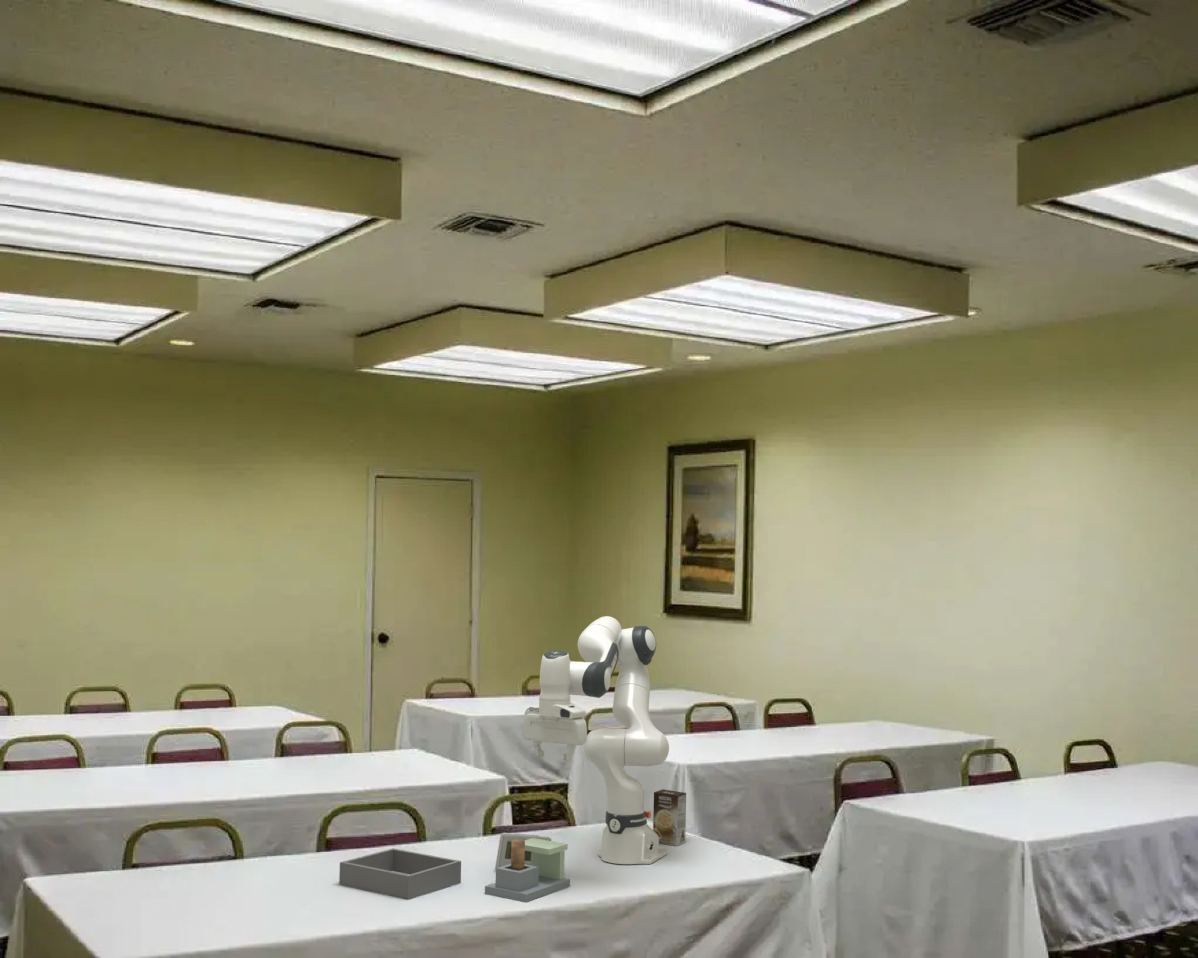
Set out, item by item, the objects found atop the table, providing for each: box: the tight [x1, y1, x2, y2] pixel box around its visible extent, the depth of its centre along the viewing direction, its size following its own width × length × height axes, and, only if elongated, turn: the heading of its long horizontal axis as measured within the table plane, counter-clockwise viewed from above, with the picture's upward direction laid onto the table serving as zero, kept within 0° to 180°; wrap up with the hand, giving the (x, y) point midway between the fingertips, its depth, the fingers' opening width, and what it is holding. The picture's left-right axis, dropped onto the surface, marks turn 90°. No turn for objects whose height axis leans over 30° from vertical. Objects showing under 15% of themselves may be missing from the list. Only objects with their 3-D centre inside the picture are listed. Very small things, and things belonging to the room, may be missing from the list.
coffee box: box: [652, 788, 687, 847], centre depth 412 cm, size 9×6×16 cm
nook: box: [484, 838, 571, 903], centre depth 351 cm, size 20×14×12 cm
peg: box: [511, 840, 525, 871], centre depth 347 cm, size 4×4×12 cm
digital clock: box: [494, 832, 552, 870], centre depth 370 cm, size 16×9×11 cm, turn 58°
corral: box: [338, 847, 462, 900], centre depth 355 cm, size 21×25×6 cm
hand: (553, 758), depth 361 cm, fingers open, 8 cm apart
